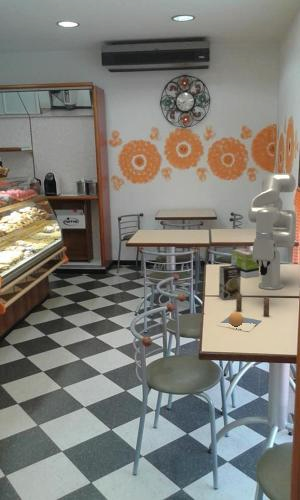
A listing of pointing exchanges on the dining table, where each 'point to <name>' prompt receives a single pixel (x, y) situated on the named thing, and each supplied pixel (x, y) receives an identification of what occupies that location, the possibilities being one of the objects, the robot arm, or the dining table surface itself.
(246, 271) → the tea box
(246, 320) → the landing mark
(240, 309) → the post
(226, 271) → the coffee box
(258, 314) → the dining table surface
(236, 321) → the ball
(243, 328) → the dining table surface
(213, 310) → the dining table surface
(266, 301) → the post
